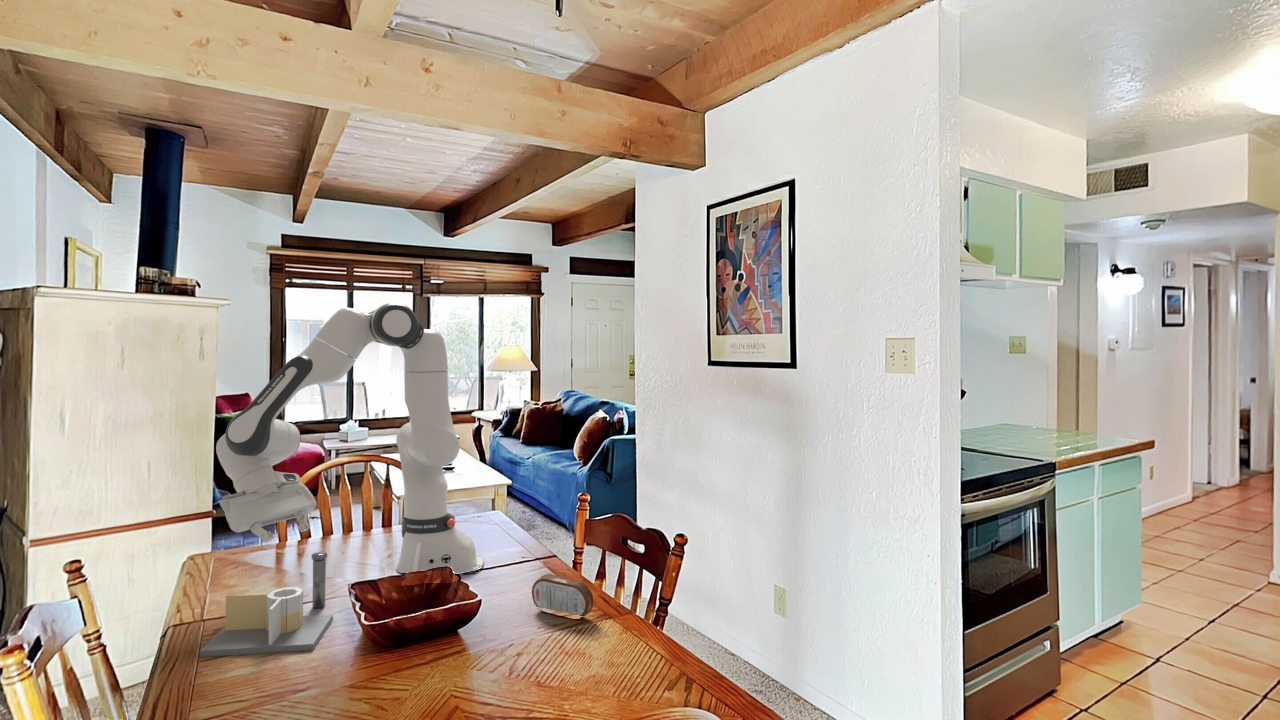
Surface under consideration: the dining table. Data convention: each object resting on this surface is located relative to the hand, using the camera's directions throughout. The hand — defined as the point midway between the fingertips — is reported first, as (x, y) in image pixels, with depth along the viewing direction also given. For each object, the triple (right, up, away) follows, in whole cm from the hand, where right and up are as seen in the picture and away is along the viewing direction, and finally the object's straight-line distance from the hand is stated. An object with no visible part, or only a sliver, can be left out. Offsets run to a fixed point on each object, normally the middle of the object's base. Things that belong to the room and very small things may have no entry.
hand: (288, 534), depth 152 cm
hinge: (+7, -16, -20) cm, 26 cm away
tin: (+64, -17, -5) cm, 67 cm away
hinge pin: (+9, -15, -4) cm, 18 cm away
